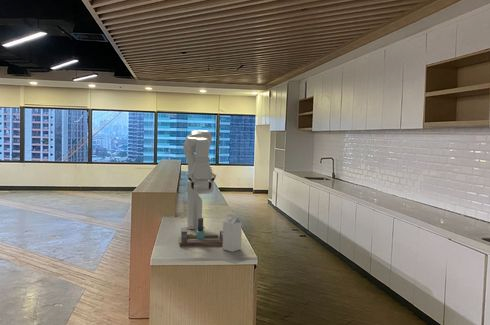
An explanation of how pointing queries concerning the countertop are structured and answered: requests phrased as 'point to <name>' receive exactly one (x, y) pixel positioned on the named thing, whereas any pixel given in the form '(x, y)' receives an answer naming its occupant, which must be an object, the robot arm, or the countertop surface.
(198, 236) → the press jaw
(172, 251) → the countertop surface
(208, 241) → the base
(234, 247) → the milk carton
